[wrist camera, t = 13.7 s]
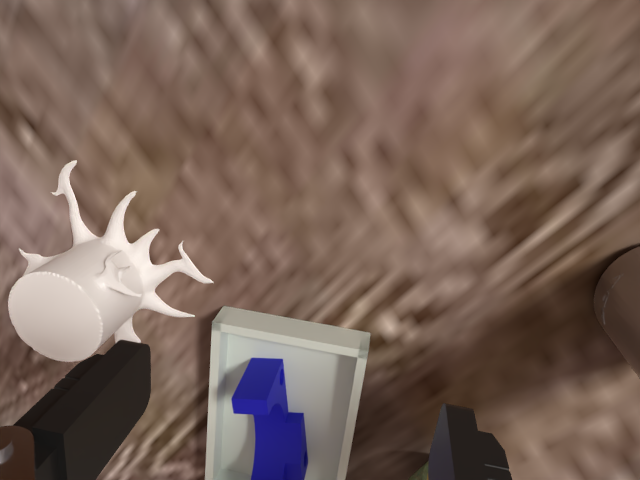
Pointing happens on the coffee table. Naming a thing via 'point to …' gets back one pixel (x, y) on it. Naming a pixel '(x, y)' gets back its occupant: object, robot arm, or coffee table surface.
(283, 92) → the coffee table surface
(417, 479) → the decorative artifact
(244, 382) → the blue curved bracket
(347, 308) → the coffee table surface
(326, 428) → the parts tray
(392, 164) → the coffee table surface
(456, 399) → the coffee table surface
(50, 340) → the tree stump
